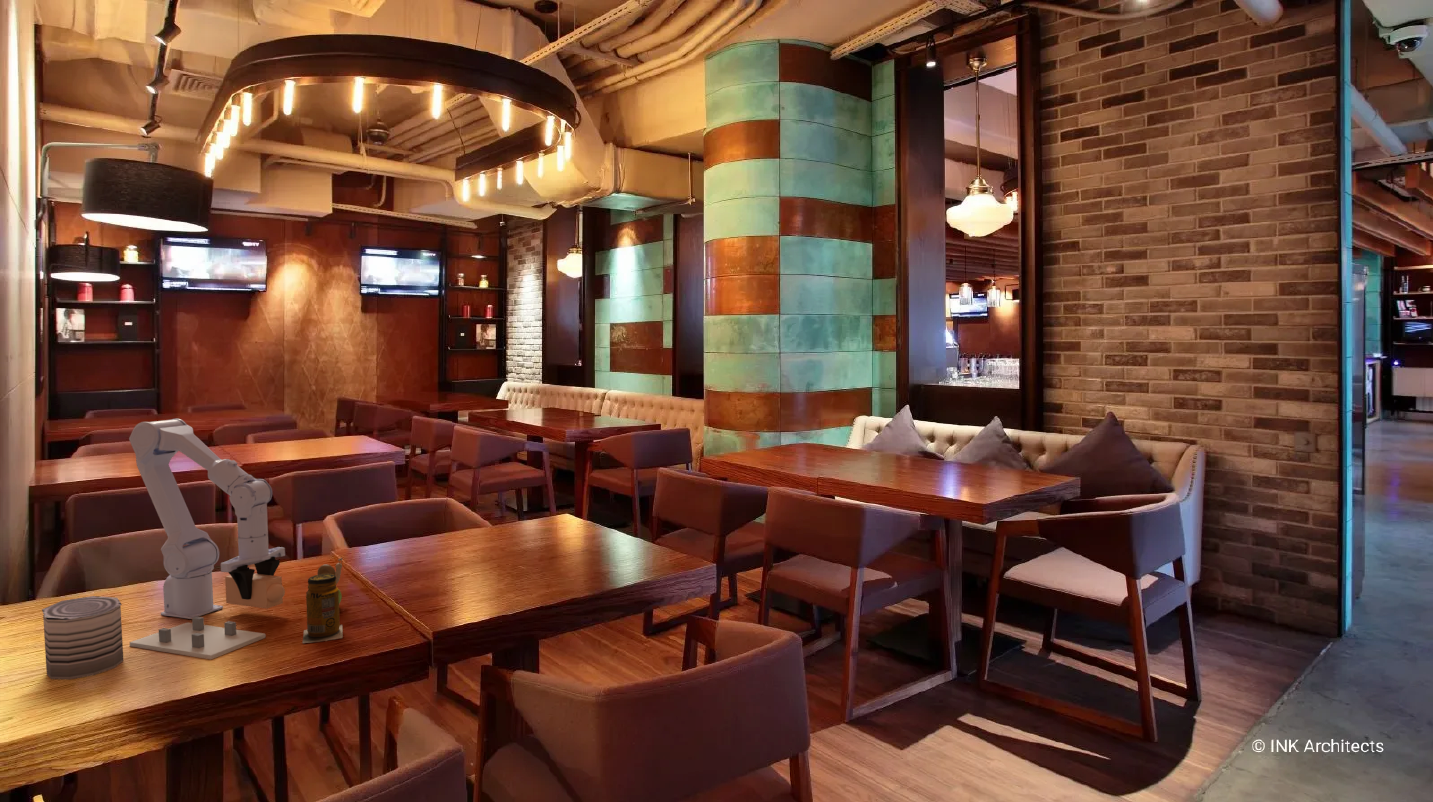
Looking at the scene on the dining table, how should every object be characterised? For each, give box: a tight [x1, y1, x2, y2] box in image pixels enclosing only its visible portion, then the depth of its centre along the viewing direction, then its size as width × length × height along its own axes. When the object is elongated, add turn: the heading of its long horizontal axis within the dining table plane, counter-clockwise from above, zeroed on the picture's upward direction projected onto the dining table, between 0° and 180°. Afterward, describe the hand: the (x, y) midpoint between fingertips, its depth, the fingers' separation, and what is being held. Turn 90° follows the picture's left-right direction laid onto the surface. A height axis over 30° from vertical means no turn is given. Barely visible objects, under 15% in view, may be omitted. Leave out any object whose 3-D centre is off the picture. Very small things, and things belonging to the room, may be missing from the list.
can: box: [41, 595, 124, 681], centre depth 146 cm, size 11×11×12 cm
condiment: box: [302, 574, 344, 644], centre depth 162 cm, size 7×8×12 cm
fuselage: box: [224, 572, 286, 610], centre depth 174 cm, size 14×4×6 cm, turn 71°
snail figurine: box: [317, 557, 343, 604], centre depth 178 cm, size 5×6×12 cm
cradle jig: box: [129, 616, 266, 660], centre depth 159 cm, size 22×12×3 cm, turn 71°
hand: (255, 595), depth 175 cm, fingers closed on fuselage, 4 cm apart
